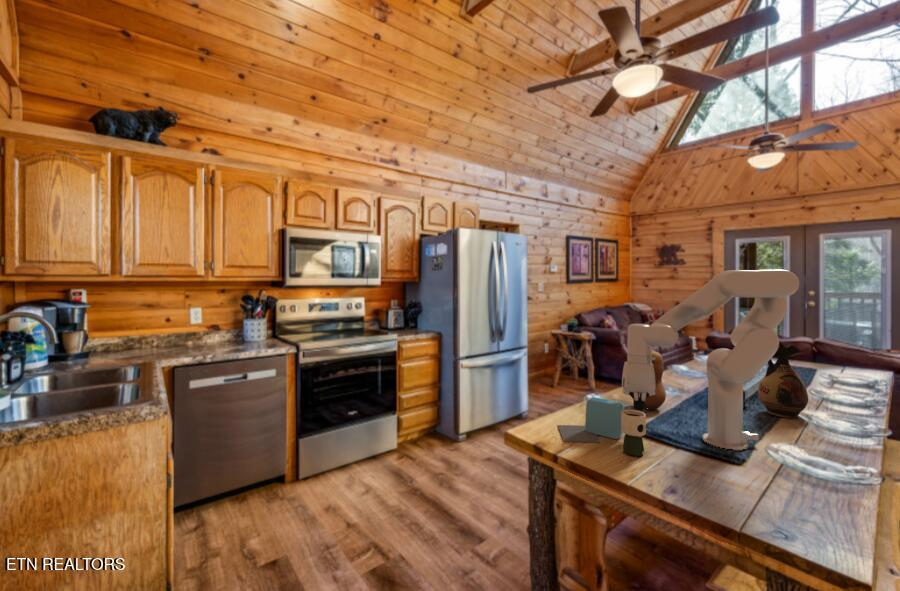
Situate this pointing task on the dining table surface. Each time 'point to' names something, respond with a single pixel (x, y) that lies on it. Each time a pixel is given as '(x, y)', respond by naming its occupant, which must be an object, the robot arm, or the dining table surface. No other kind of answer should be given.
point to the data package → (604, 417)
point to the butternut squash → (660, 393)
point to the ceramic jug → (783, 386)
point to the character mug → (633, 431)
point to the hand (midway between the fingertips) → (638, 410)
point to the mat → (577, 434)
